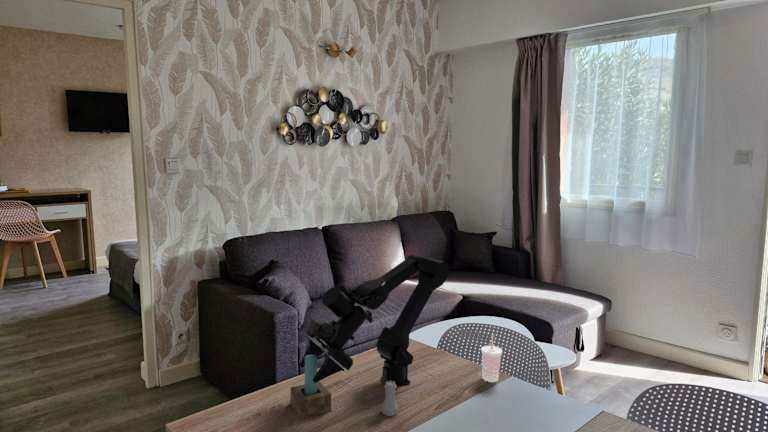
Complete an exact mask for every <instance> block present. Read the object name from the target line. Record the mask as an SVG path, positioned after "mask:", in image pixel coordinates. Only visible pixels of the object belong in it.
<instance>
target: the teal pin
mask: <svg viewBox="0 0 768 432" xmlns="http://www.w3.org/2000/svg"><path fill="white" fill-rule="evenodd" d="M317 372H318V357H317V356H316V355H307V356H305V367H304V384H305V396H309V395H314V394H317V382H316V383H315V382H314V381H313V378H314V376H315V375H316V373H317Z"/></svg>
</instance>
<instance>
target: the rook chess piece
mask: <svg viewBox="0 0 768 432" xmlns="http://www.w3.org/2000/svg"><path fill="white" fill-rule="evenodd" d="M383 388H384V389H385V391H384V393H385V395H384V397H385V398H384V401H383V402H382V405H381V409H380V412H381V413H382V414H383V416H386V417H395V416H396V415H397V414H398V413H399V405H398V403H397V402H396V393H397V391H396V389H397V388H398V386H396V384H395V382H394V381H393V383H392V382H391V381H390V382H388V381H386V383H385V384H384V385H383Z"/></svg>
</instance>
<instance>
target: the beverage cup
mask: <svg viewBox="0 0 768 432" xmlns="http://www.w3.org/2000/svg"><path fill="white" fill-rule="evenodd" d="M480 349H481V351H480V353H481V368H482V369H481V374H482V378H481V379H482V380H483V379H484V380H483V381H485V382H487V381H488V383H496V382H498V381H499V377H500V369H501V360H502V355H503V349H502V348H501V347H498V346H495V345H494V332H491V342H490V345H483V346H482V347H481V348H480Z"/></svg>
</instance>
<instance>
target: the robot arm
mask: <svg viewBox="0 0 768 432" xmlns="http://www.w3.org/2000/svg"><path fill="white" fill-rule="evenodd" d="M450 273H451V270H450V266H449V264H448V262H446V261H442V260H438V259H435V258H431V257H430V258H428V257H427V258H425V257H424V256H421V255H418V254H413V253H412V254H409V255H408V256H407V257H406V259H404V260H402V261H401V262H400V263H399V264H397V265H395V267H393V268H392V269H390V270H389V271H387V272H386V273H384V274H382V275H381V276H380V277H377V278H374V279H369V280H366V281H365V282H362V283H361V284H359V285H358V286H357V287H356V288H354V289H351V290H348V289H347V288H346V287H345V285H343V284H341V283H337V284H336V286H333V287H331V288H329V289H328V290H327V291H325V292H324V294H323V296H322V298H321V303H322V305H324V307H325V308H327V309H328V310H329V311H330V312H331V313H332V314H334V316H335V317H337V320H335V319H333V320H331V321H329V323H327V322H326V321H323V320H319V319H317V318H311V319H310V322H309V324H308V326H307V328H306V332H305V334H306V340H307V346H306V349H305V352H304V354H303V356H302V359H301V361H300V363H299V367H300V368H301V369H305V356H307V355H316V356H317V358H318V357H319V356H321V355H322V354H323V353H324V360H323V363H322V365H321V366H320V367H319V369H317V373H316V375H315V376H314V378H313V381H314V382H315V383H316V382H318V381H320V382H321V381H322V380H325V379H326V378H328V377H330V376H332V375H334V374H337V373H340V372H345V370H347V371H350V369H351V368H352V367H353V365H354V359H353V358H352V357H350V356H349V355H348V354H347V352H345V351H346V350H345V349H344V347H345V346H346V345H347V344H348V342H349V341H352V342H354V341H355V339H356V337H355V336H354V335H355V334H356V333H357V331H358V330H359V328H360V327H361V326H362V325H363V324H364V323H365V321H366V322H368V323H370V324H372V323H373V312H372V311H370V310H377V309H379V307H382V305H383V304H384V303H385V302H386V301H387V300H388V297H389V295H390V294H391V292H392V291H394V290H395V289H396V288H398V287H399V286H400V285H402V284H403V283H404V282H406V281H407V280H408V279H410V278H411V277H413V276H414V275H415V274H417V275H418V276H417V280H418V282H417V284H416V286H415V287H414V290H413V291H412V293H411V294H410V297H409V298H408V300H407V302H406V303H405V305H404V307H403V309H402V311H401V312H400V314H399V316H398V318H397V320H396V321H395V323H394V324H393V325H392V326H391V327H388V326H384V328H383V329H382V331H381V333H380V335H379V336H378V337H377V338H376V339H377V341H376V346H375V347H376V351H377V353H378V354H379V357H380V359H384V361H383V366H382V373H381V374H382V375H381V376H380V379H381V381H383V382H384V383H385V384H386V381H388V382H390V381H391V382H392V383H393V381H394V382H395V384H396V386H397V387H400V386H404V385H409V384H411V380H410V379H409V378H408V375H409V373H408V372H409V371H408V370H409V366H410V365H411V364H412V363H413V361H414V356H413V355H412V354H411V353H410V352H409V351H408V348H409V345H410V333H411V332H412V330H413V328H414V326H415V324H416V323H417V321H418V319H419V317H420V316H421V313H422V312H423V310H424V308H425V306H426V304H427V303H428V301H429V299H430V297H431V295H432V294H433V292H434V291H435V290H437V289H439V288H440V287H442V286H443V284H444V283H445V282H446V280H448V278H449V276H450ZM355 304H357V305H355ZM364 307H365V308H367V309H364ZM325 349H326V350H327V351H328V352H327V353H325V352H326V351H325Z"/></svg>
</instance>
